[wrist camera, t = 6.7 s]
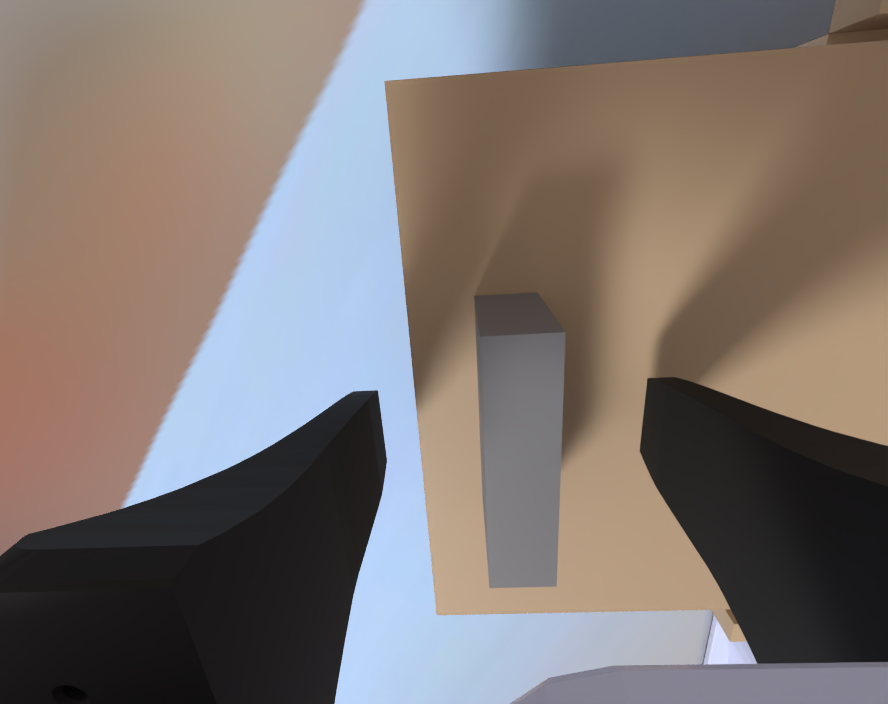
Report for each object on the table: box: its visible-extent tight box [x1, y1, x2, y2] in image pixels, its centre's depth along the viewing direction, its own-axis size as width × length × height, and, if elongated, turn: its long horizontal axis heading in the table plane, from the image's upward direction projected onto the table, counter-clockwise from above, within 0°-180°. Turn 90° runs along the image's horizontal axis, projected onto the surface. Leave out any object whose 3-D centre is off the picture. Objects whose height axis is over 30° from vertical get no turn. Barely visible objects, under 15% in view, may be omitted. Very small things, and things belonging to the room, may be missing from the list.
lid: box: [385, 40, 888, 615], centre depth 10 cm, size 15×16×4 cm
